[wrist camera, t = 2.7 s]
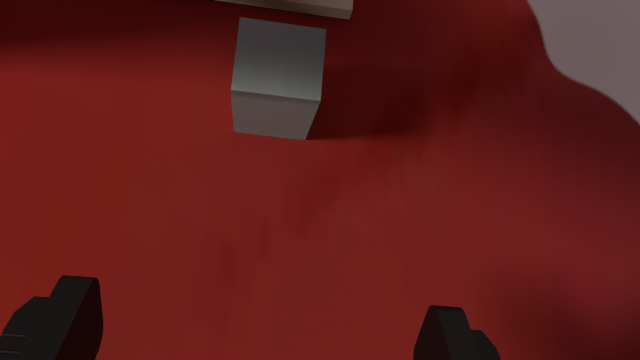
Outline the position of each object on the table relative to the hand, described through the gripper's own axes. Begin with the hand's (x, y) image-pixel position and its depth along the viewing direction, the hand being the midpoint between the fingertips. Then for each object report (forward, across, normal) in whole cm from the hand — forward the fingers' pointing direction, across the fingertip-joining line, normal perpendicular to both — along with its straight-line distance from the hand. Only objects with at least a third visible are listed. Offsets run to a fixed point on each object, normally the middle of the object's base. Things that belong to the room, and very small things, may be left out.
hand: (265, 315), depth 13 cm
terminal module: (+22, 0, +4) cm, 22 cm away
